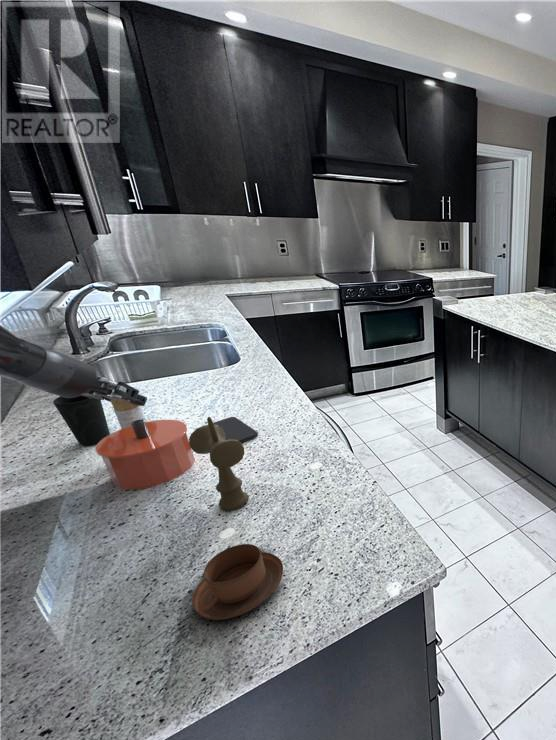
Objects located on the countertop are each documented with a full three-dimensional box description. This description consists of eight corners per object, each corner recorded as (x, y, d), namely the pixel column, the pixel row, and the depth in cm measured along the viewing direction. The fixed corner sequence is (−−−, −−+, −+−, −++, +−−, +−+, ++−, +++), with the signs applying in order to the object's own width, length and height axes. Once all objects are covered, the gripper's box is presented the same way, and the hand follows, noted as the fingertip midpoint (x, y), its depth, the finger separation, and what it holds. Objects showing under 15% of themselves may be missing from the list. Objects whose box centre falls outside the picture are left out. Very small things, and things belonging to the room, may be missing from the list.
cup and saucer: (263, 624, 59) (254, 595, 56) (176, 629, 58) (162, 599, 55) (297, 559, 70) (290, 531, 67) (224, 561, 69) (214, 534, 66)
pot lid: (193, 442, 85) (187, 423, 84) (98, 470, 76) (89, 449, 74) (181, 417, 95) (175, 399, 93) (95, 439, 85) (87, 420, 83)
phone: (233, 415, 112) (259, 432, 105) (234, 418, 113) (260, 435, 105) (202, 426, 107) (227, 444, 99) (203, 428, 107) (228, 447, 99)
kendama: (239, 486, 87) (215, 403, 78) (262, 505, 82) (238, 418, 74) (207, 501, 82) (178, 415, 74) (229, 522, 77) (201, 432, 69)
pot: (202, 476, 89) (189, 440, 85) (119, 504, 80) (101, 465, 76) (190, 451, 98) (178, 416, 94) (114, 473, 89) (98, 436, 85)
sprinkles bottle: (138, 433, 97) (118, 382, 92) (157, 434, 97) (138, 383, 92) (121, 443, 93) (99, 391, 88) (140, 444, 93) (119, 392, 88)
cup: (107, 429, 105) (89, 387, 100) (122, 437, 102) (105, 394, 97) (67, 443, 99) (46, 399, 94) (82, 451, 96) (61, 407, 91)
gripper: (97, 356, 78) (169, 388, 94) (29, 352, 79) (112, 384, 95) (78, 393, 76) (156, 419, 91) (8, 388, 77) (97, 414, 92)
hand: (133, 401), depth 93 cm, fingers closed on sprinkles bottle, 4 cm apart
